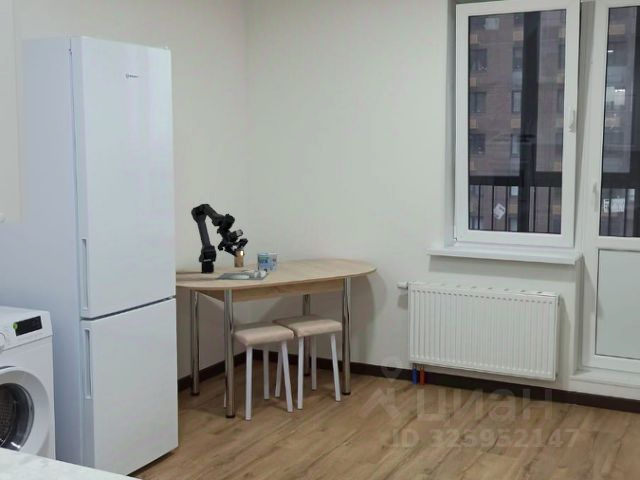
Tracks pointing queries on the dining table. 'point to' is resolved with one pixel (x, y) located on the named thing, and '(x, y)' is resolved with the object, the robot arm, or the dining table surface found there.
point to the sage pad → (239, 277)
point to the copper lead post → (238, 258)
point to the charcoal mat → (226, 275)
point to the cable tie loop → (255, 273)
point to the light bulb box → (267, 262)
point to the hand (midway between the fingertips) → (240, 256)
